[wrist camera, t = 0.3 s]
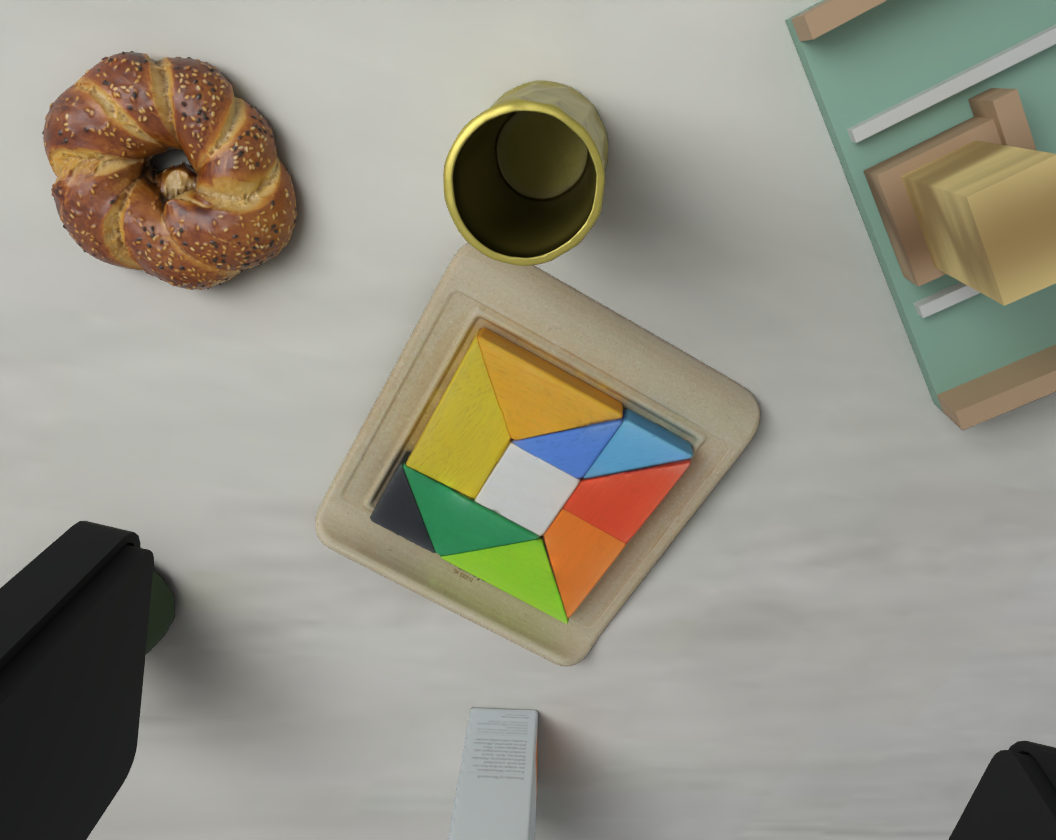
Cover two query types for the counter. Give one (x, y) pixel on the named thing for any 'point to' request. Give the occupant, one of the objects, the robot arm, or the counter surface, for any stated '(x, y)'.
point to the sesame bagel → (168, 171)
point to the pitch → (914, 116)
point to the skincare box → (497, 777)
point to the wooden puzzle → (531, 457)
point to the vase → (528, 174)
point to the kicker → (974, 203)
